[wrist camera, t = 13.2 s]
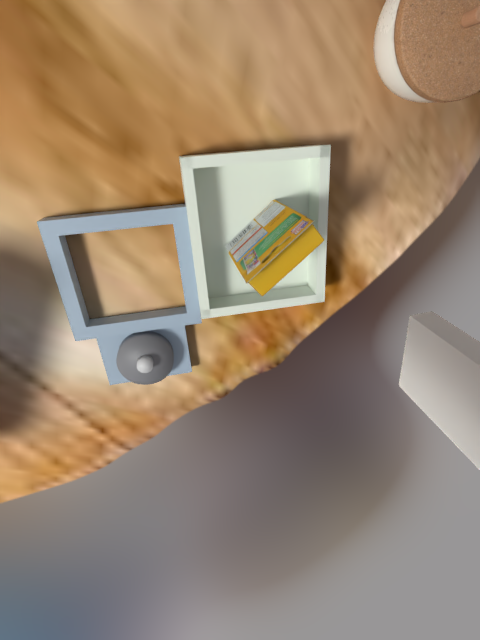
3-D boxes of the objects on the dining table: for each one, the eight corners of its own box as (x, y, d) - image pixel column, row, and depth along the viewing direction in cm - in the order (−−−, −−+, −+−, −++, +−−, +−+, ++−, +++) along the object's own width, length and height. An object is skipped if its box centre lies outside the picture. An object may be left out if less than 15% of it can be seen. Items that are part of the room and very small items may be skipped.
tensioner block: (43, 217, 35) (30, 225, 32) (185, 203, 37) (186, 209, 34) (94, 381, 44) (88, 401, 41) (206, 364, 46) (209, 381, 43)
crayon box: (241, 265, 40) (266, 307, 30) (223, 246, 39) (243, 283, 28) (291, 219, 39) (335, 246, 28) (274, 198, 37) (314, 218, 27)
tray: (178, 156, 35) (179, 157, 31) (315, 144, 37) (330, 144, 33) (198, 304, 42) (201, 318, 39) (311, 288, 44) (324, 301, 40)
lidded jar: (342, 101, 35) (395, 88, 27) (370, -42, 31) (444, -111, 23) (436, 115, 38) (511, 107, 29) (475, -17, 33) (577, -70, 25)
